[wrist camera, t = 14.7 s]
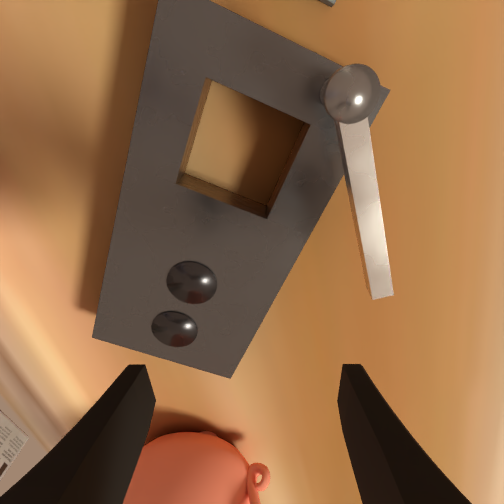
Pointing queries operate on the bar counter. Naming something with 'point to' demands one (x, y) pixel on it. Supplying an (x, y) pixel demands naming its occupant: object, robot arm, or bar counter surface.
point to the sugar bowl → (194, 472)
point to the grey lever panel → (212, 192)
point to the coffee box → (9, 442)
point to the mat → (328, 2)
